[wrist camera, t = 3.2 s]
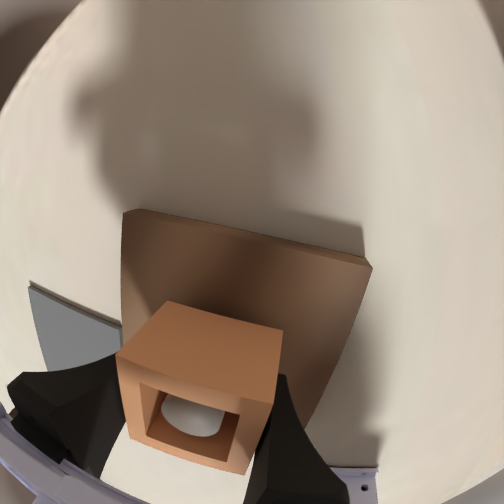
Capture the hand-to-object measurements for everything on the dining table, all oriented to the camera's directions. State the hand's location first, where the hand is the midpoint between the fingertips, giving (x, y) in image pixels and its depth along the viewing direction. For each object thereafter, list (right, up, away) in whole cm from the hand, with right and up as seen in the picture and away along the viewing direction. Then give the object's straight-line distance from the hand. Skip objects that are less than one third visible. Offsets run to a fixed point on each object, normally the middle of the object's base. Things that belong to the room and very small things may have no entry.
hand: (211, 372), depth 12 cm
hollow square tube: (0, 0, +1) cm, 1 cm away
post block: (+1, +1, +3) cm, 3 cm away
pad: (-12, -3, +6) cm, 14 cm away
